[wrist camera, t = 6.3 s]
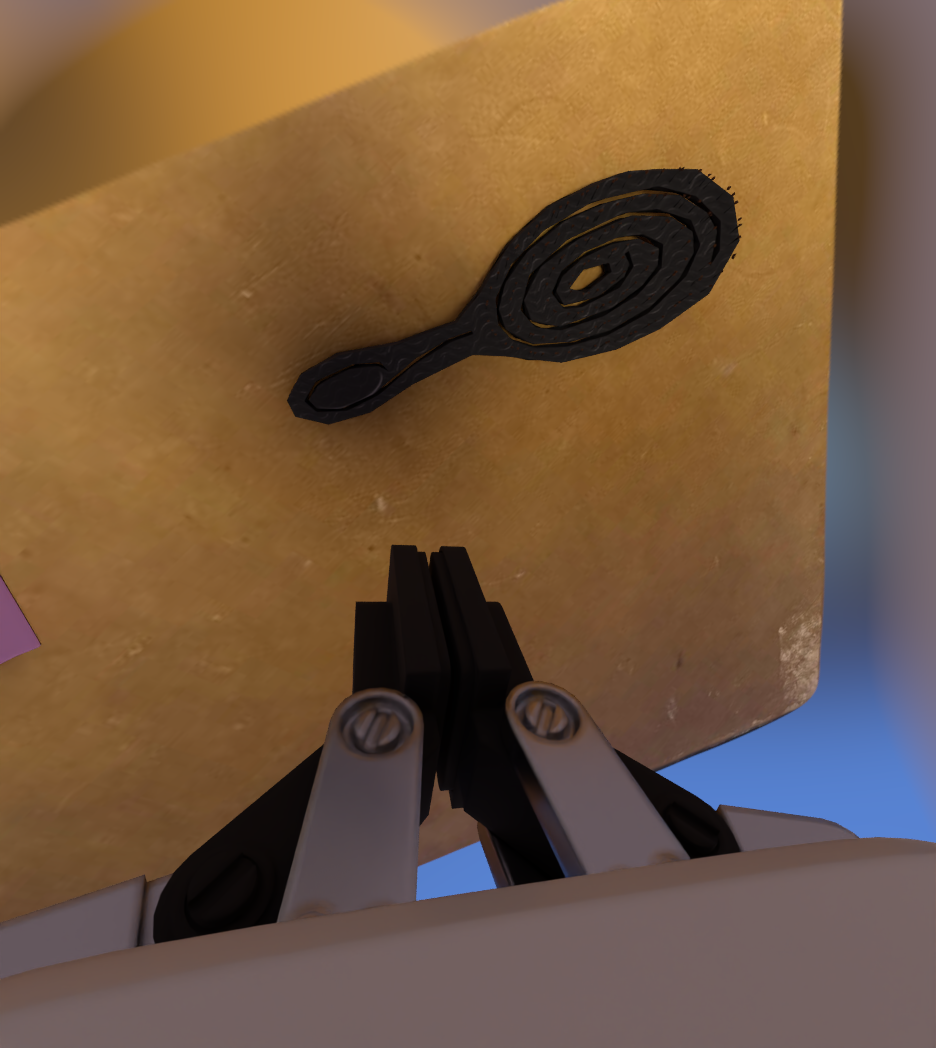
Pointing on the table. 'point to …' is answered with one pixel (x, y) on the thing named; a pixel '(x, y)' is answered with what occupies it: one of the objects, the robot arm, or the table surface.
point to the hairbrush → (557, 290)
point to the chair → (13, 628)
